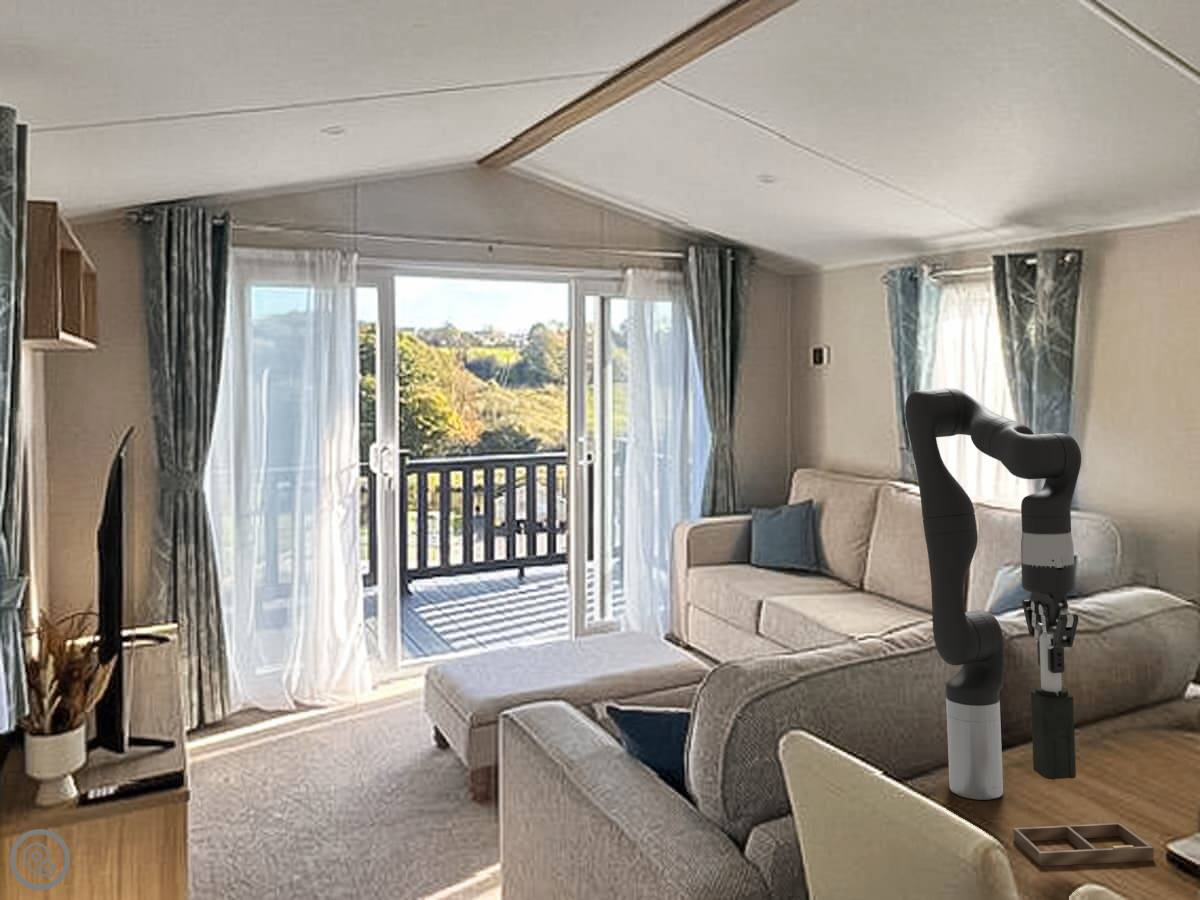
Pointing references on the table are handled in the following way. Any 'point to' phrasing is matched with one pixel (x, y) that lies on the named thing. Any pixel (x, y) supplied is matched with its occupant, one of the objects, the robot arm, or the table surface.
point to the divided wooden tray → (1083, 844)
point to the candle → (1052, 723)
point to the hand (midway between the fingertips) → (1051, 668)
